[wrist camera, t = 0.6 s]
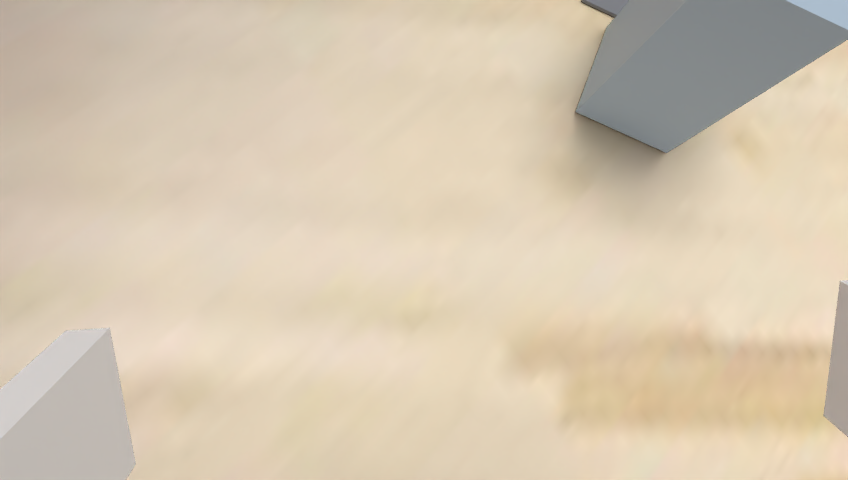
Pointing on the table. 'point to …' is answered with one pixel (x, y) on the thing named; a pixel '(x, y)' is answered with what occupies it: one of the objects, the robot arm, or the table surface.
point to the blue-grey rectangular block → (701, 61)
